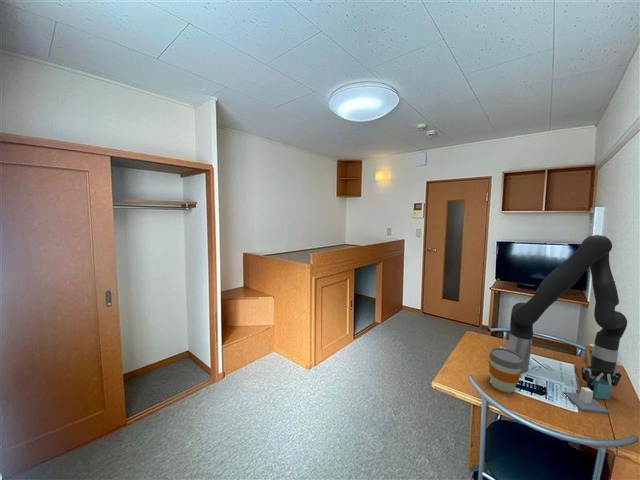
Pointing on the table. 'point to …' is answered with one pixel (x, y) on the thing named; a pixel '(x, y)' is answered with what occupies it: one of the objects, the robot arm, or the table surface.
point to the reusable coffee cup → (505, 369)
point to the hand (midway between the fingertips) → (597, 392)
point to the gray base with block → (586, 401)
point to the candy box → (587, 356)
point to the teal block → (601, 389)
